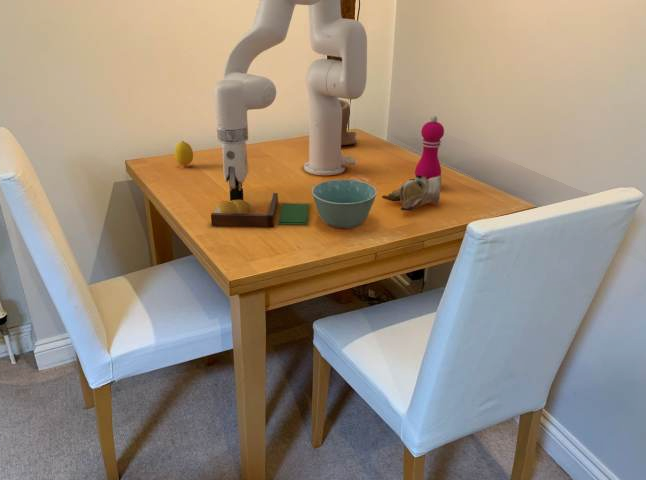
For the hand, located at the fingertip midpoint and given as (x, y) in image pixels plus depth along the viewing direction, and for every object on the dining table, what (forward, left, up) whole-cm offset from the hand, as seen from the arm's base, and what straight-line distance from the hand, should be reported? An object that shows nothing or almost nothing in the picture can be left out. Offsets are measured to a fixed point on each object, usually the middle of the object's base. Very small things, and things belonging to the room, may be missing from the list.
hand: (237, 203), depth 152 cm
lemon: (+21, -31, -1) cm, 37 cm away
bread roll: (0, +6, -1) cm, 6 cm away
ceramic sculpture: (-46, -3, -1) cm, 47 cm away
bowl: (-27, +8, -1) cm, 29 cm away
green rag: (-15, +4, -1) cm, 16 cm away
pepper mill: (-51, -17, -1) cm, 54 cm away
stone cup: (-26, -56, -1) cm, 62 cm away
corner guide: (-3, +5, -1) cm, 6 cm away
